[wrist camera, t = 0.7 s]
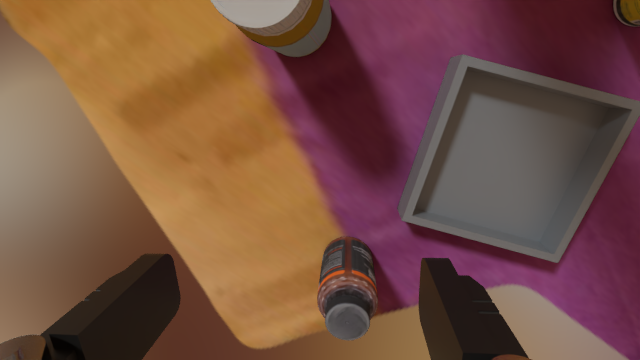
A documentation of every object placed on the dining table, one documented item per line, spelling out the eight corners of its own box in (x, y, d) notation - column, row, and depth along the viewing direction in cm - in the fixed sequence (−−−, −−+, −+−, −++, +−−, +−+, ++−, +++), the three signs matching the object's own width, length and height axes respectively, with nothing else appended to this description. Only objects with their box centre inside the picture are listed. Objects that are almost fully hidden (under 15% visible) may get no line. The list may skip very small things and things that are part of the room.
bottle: (346, 16, 32) (343, -41, 17) (300, 72, 33) (262, 63, 19) (293, -37, 31) (243, -143, 16) (248, 24, 33) (169, -24, 18)
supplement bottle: (315, 265, 40) (301, 332, 29) (336, 226, 38) (330, 282, 27) (358, 285, 40) (360, 360, 29) (381, 247, 38) (393, 312, 27)
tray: (450, 57, 32) (462, 54, 28) (614, 101, 31) (646, 103, 28) (397, 208, 37) (401, 220, 33) (538, 246, 36) (557, 263, 33)
